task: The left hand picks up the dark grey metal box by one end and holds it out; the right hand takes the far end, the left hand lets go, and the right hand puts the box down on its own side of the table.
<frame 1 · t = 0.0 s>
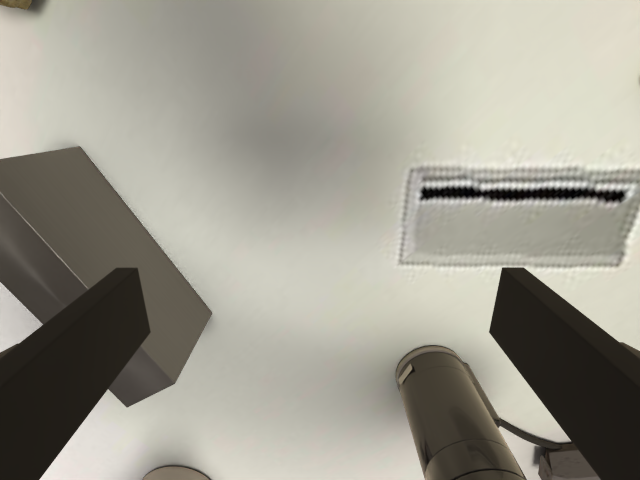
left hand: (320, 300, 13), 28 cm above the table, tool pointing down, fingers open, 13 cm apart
box: (132, 248, 42), on the table
bust sculpture: (173, 475, 56), on the table
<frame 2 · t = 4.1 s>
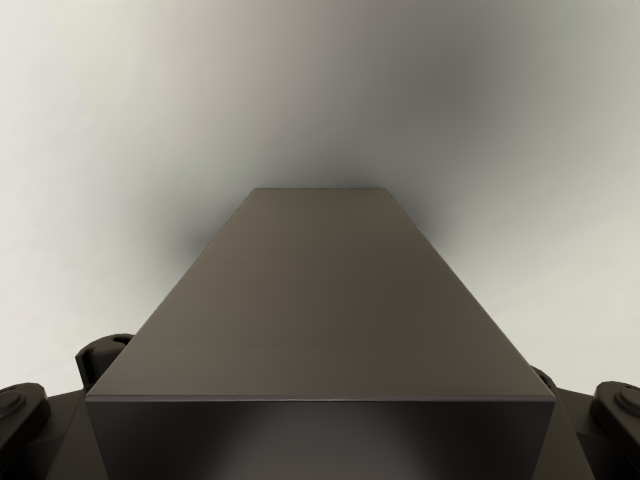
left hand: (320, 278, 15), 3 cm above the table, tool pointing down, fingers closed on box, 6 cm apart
box: (320, 393, 20), on the table, touching left hand
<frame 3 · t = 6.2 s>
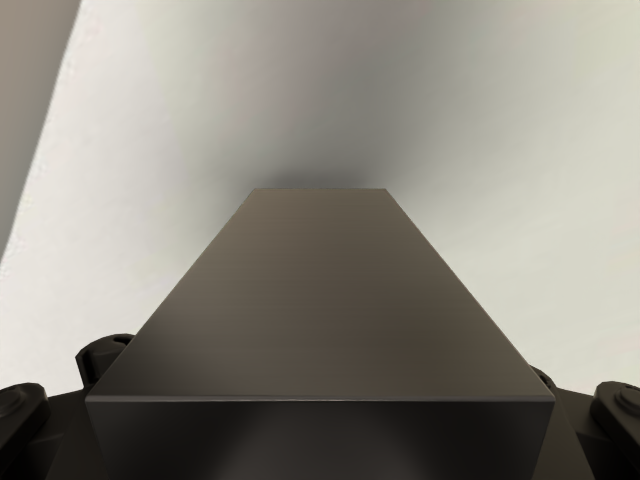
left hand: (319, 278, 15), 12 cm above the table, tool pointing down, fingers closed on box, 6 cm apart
box: (320, 393, 20), point 9 cm above the table, touching left hand
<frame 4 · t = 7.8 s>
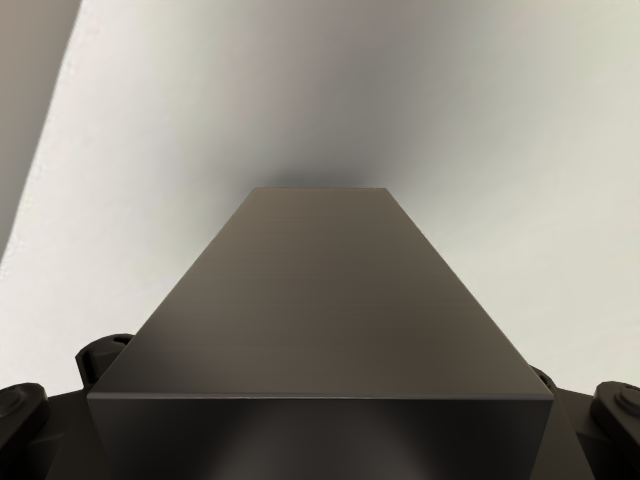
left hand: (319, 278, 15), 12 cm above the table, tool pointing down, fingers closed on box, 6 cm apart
box: (319, 392, 20), point 9 cm above the table, touching left hand, right hand
when the left hand's fingers open (12 cm above the table, at t = 8.7 s): box stays where it is, held by the right hand.
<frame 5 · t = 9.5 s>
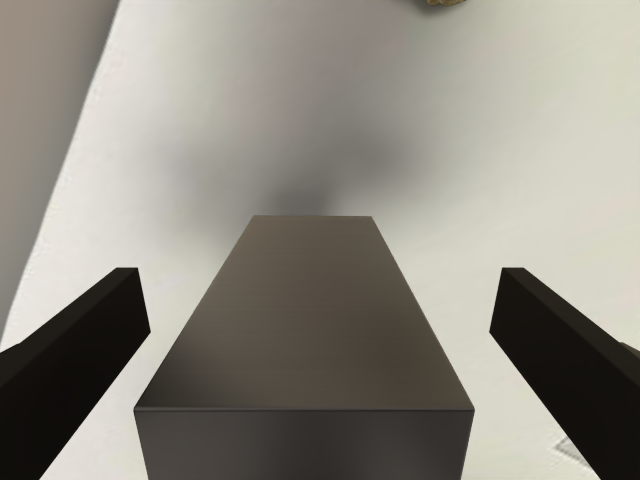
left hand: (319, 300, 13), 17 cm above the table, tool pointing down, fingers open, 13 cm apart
box: (312, 401, 22), point 11 cm above the table, touching right hand
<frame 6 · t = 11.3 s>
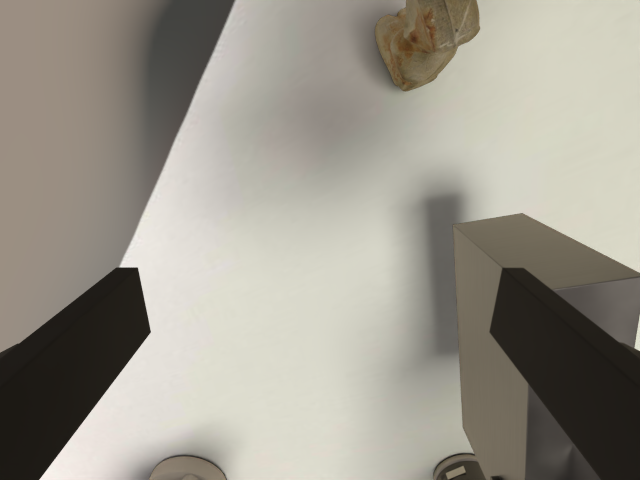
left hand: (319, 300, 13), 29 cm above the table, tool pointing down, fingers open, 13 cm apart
box: (488, 333, 35), point 11 cm above the table, touching right hand
bust sculpture: (196, 466, 58), on the table
sculpture: (401, 53, 36), on the table
when the right hand's fingers open (9 cm above the table, at t = 14.9 s): box stays where it is, on the table.
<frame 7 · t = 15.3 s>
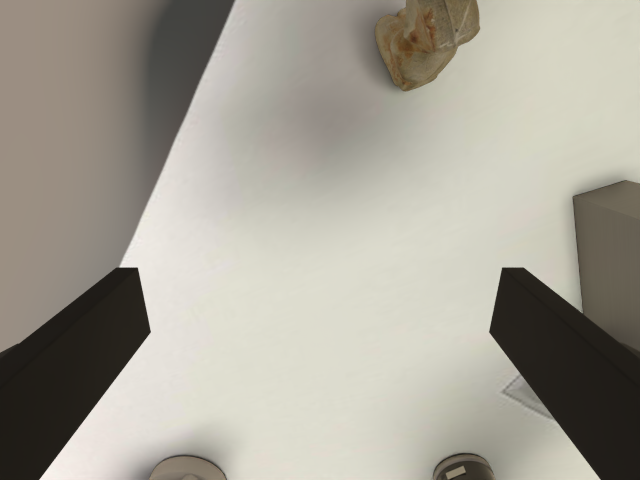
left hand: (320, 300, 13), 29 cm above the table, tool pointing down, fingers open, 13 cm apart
box: (604, 276, 45), on the table
bust sculpture: (196, 466, 58), on the table
sculpture: (401, 53, 36), on the table
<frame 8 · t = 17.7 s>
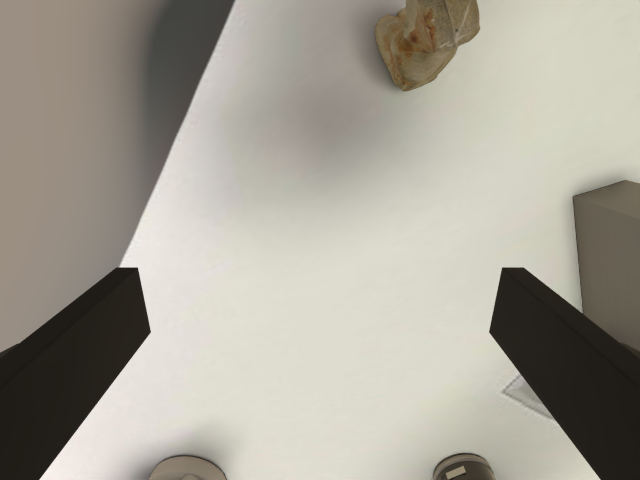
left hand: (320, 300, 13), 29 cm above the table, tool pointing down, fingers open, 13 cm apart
box: (604, 276, 45), on the table
bust sculpture: (196, 466, 58), on the table
sculpture: (401, 53, 36), on the table
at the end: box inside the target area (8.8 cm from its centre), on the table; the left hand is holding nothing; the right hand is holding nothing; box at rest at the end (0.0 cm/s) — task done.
